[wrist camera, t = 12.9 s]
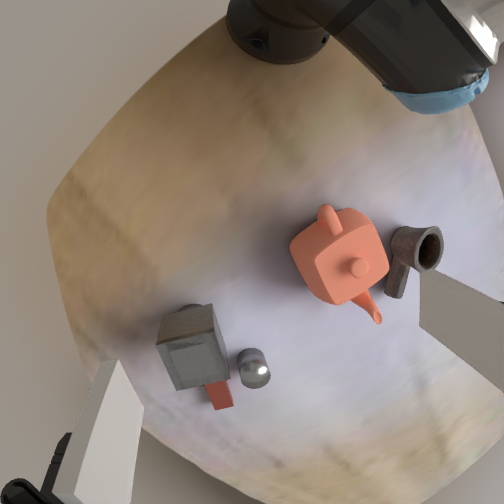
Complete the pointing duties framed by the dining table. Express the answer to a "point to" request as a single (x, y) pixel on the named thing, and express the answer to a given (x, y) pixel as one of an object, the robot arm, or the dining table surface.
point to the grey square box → (193, 348)
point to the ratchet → (216, 383)
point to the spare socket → (253, 368)
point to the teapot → (341, 258)
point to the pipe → (412, 255)
